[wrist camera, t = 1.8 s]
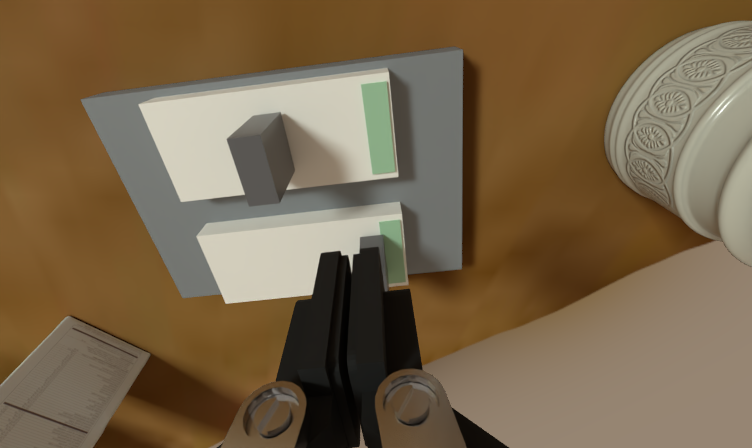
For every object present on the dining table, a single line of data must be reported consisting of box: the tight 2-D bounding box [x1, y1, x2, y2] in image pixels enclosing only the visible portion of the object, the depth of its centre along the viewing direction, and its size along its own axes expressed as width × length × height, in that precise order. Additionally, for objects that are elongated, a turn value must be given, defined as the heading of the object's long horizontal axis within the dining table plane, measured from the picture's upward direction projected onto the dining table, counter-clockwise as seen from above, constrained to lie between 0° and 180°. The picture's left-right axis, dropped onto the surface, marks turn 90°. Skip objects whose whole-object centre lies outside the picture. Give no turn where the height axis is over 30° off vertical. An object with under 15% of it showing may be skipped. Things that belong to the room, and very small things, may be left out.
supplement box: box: [0, 316, 150, 448], centre depth 34 cm, size 10×9×17 cm
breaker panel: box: [81, 47, 463, 304], centre depth 29 cm, size 18×26×5 cm
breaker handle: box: [359, 235, 389, 291], centre depth 27 cm, size 4×2×5 cm, turn 7°
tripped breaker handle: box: [227, 112, 295, 207], centre depth 22 cm, size 4×2×5 cm, turn 7°
